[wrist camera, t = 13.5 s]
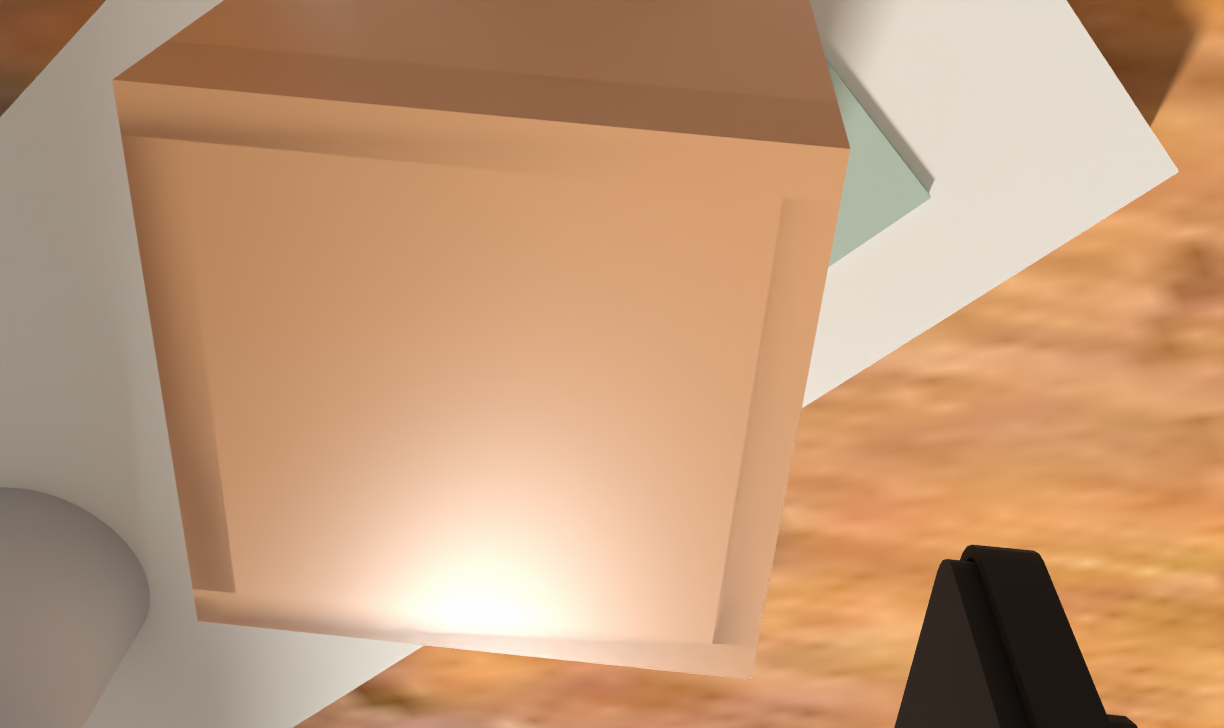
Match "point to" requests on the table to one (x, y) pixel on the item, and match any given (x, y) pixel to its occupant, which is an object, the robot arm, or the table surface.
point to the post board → (129, 380)
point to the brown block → (487, 313)
